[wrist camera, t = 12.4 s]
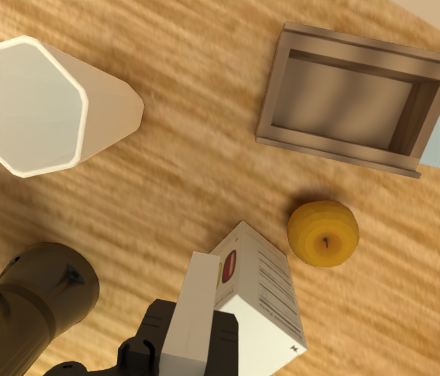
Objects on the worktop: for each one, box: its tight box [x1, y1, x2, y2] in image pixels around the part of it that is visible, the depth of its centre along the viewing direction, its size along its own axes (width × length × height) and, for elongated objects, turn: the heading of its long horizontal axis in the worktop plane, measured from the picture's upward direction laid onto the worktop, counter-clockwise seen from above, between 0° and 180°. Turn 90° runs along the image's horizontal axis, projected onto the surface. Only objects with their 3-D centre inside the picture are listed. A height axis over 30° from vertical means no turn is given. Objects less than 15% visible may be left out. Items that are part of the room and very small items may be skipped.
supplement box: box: [209, 220, 307, 376], centre depth 35 cm, size 10×9×17 cm
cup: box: [0, 35, 144, 178], centre depth 30 cm, size 11×10×17 cm
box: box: [255, 21, 440, 179], centre depth 32 cm, size 18×12×7 cm, turn 78°
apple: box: [287, 200, 359, 267], centre depth 36 cm, size 9×8×9 cm
